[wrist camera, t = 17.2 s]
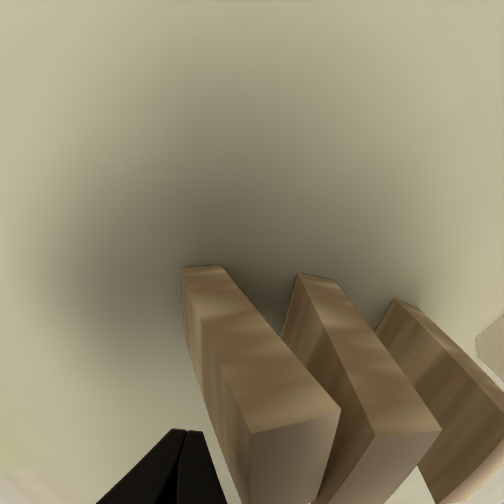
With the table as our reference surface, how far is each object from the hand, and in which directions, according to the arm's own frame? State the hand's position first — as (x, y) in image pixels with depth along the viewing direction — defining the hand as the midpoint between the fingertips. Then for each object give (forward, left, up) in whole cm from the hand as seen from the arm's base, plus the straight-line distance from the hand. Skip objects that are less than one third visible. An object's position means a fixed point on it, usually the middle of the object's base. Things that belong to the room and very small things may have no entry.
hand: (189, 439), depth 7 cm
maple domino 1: (0, +1, -9) cm, 9 cm away
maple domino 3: (+4, -9, -10) cm, 14 cm away
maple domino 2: (+2, -4, -10) cm, 11 cm away
